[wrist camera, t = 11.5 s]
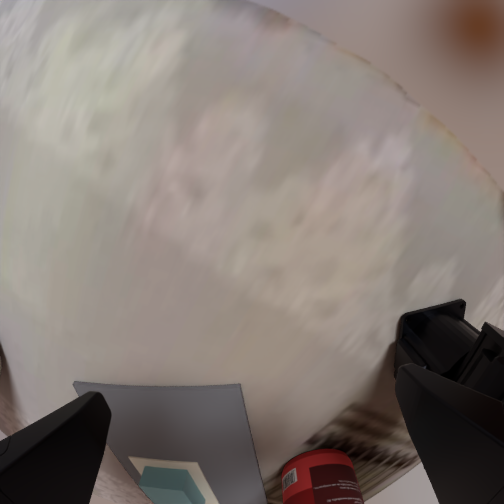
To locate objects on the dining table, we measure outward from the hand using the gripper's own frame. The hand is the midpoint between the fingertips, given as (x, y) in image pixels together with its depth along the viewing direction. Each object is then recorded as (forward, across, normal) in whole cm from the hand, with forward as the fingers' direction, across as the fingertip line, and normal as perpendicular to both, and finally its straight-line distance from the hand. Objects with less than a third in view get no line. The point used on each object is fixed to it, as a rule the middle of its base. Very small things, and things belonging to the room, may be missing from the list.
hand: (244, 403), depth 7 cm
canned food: (+12, -4, +23) cm, 26 cm away
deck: (+11, +12, +25) cm, 30 cm away
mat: (+12, +10, +20) cm, 25 cm away
